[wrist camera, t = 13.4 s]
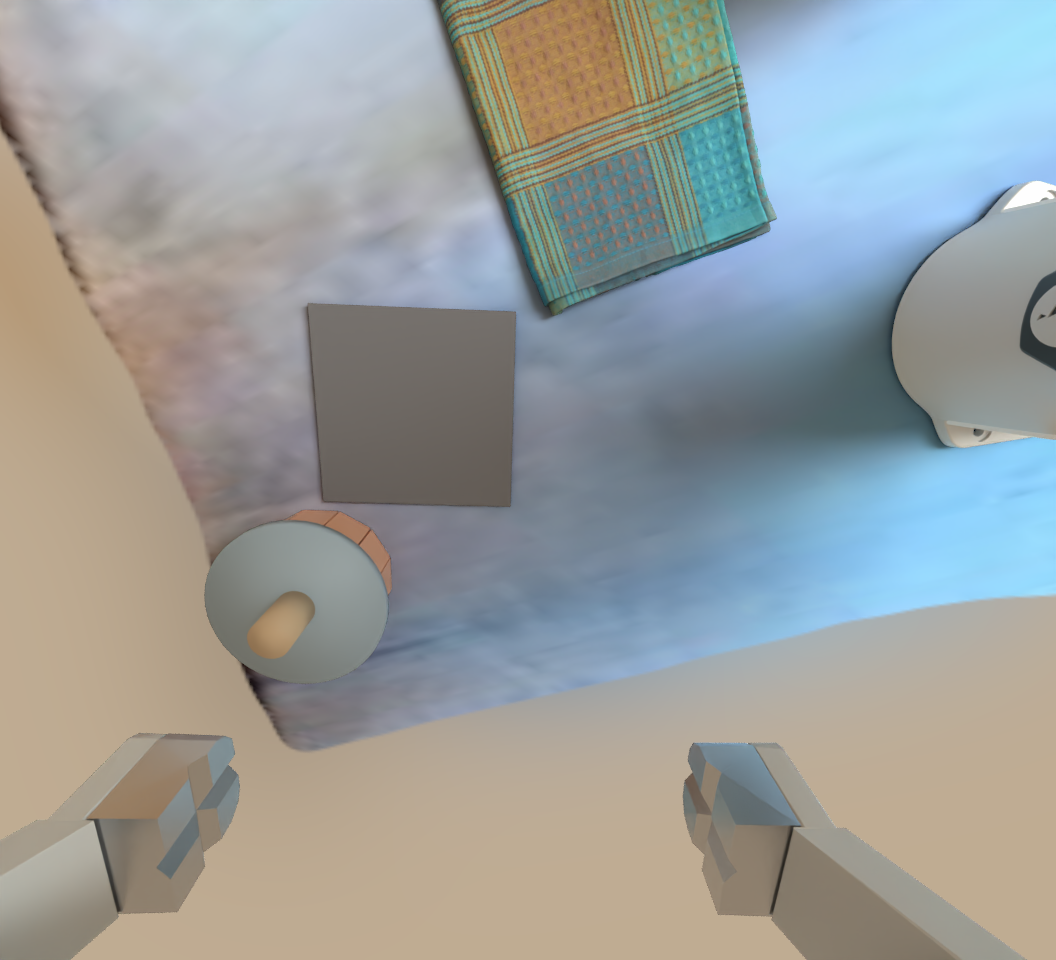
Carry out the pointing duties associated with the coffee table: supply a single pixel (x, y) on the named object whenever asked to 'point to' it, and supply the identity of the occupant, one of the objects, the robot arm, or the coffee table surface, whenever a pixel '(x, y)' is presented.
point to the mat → (414, 404)
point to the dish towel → (612, 134)
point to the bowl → (352, 536)
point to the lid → (297, 601)
